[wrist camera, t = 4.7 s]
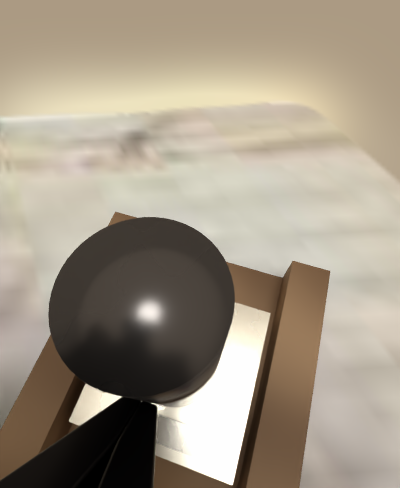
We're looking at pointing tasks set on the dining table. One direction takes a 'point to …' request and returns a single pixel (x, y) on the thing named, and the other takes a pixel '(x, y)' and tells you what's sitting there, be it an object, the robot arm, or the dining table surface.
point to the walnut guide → (262, 403)
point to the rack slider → (161, 337)
